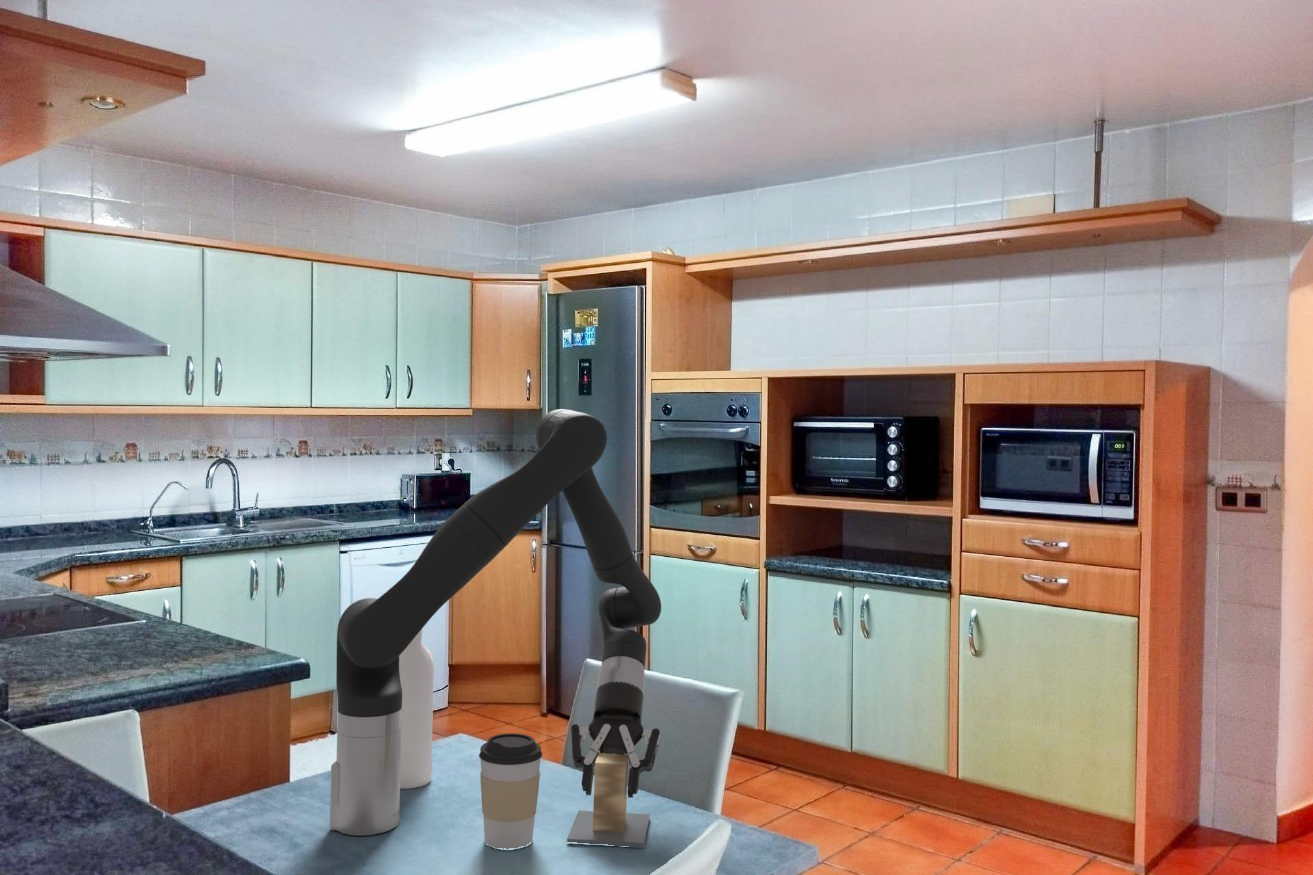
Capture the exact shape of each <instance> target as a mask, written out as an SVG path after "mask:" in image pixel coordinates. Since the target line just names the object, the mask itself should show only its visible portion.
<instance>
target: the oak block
mask: <svg viewBox="0 0 1313 875" xmlns="http://www.w3.org/2000/svg"><path fill="white" fill-rule="evenodd" d="M628 769H629V762H628V755H626V754H608V753H599V754H598V756H597V759H596V761H595V767H594V777H593V785H594V786H593V806H592V807H593V810H592V811H593V831H607V832H623V831H624V827H625V823H626V813H627V802H628V778H629V772H628V771H629V770H628Z"/></svg>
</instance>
